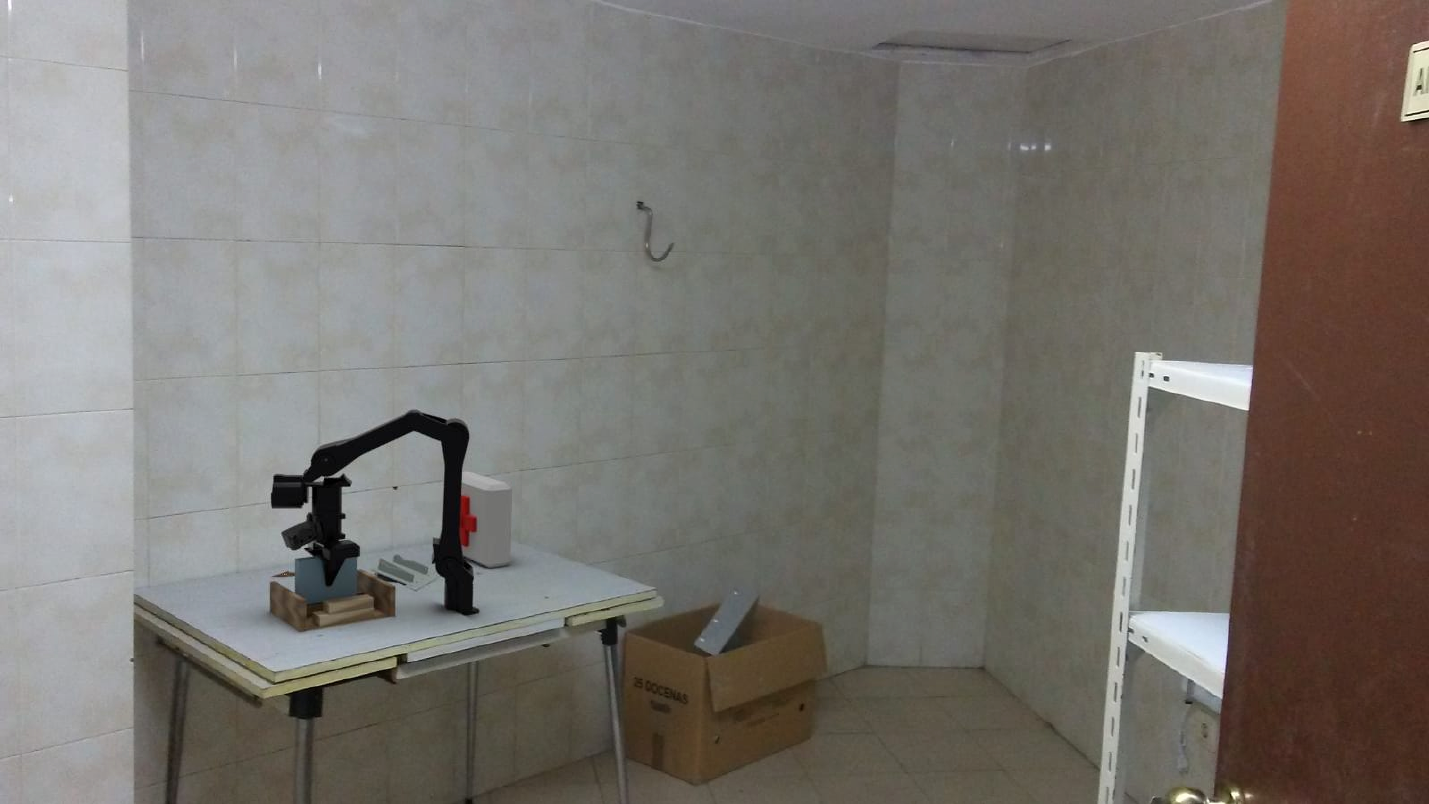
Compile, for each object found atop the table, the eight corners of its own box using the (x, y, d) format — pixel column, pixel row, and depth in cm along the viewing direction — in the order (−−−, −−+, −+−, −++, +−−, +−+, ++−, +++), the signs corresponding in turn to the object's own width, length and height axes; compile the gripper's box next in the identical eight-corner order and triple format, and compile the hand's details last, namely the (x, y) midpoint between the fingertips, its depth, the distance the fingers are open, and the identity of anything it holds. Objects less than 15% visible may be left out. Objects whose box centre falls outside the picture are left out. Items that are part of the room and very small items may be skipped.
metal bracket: (364, 562, 256) (396, 547, 271) (357, 586, 257) (389, 570, 272) (423, 586, 254) (451, 569, 269) (415, 610, 255) (444, 592, 270)
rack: (395, 620, 233) (395, 586, 233) (301, 636, 221) (301, 600, 220) (360, 601, 245) (361, 569, 245) (269, 616, 233) (269, 581, 232)
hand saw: (229, 602, 243) (229, 599, 243) (211, 599, 244) (211, 596, 244) (305, 575, 266) (305, 572, 265) (289, 572, 267) (289, 570, 267)
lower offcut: (374, 617, 231) (374, 608, 231) (319, 627, 224) (319, 616, 224) (366, 613, 234) (366, 603, 234) (312, 622, 227) (312, 612, 227)
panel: (356, 596, 238) (357, 553, 237) (298, 605, 230) (298, 561, 229) (352, 594, 240) (353, 551, 239) (294, 603, 232) (294, 558, 231)
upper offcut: (373, 607, 231) (373, 597, 231) (329, 614, 225) (329, 604, 225) (367, 604, 234) (367, 594, 233) (323, 611, 228) (323, 601, 227)
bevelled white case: (440, 552, 291) (442, 472, 289) (469, 548, 296) (471, 470, 294) (482, 570, 275) (484, 486, 273) (512, 566, 280) (514, 483, 278)
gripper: (268, 504, 235) (268, 580, 236) (305, 521, 221) (305, 601, 222) (323, 498, 242) (322, 572, 244) (361, 515, 228) (360, 593, 230)
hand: (326, 584), depth 235 cm, fingers closed on panel, 2 cm apart
